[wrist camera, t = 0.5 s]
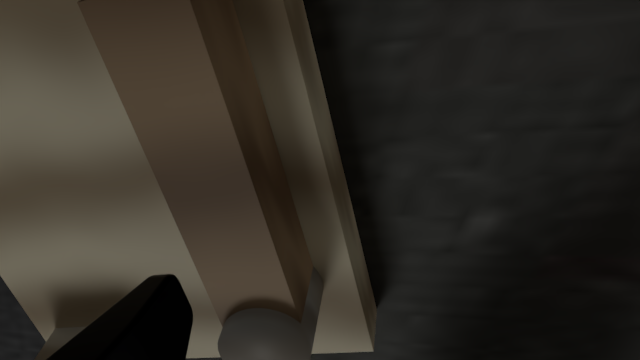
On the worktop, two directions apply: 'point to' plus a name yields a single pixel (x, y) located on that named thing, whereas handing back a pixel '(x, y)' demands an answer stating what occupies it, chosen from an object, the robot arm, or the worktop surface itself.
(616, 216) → the worktop surface
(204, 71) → the brown square bar
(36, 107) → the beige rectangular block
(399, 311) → the worktop surface
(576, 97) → the worktop surface
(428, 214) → the worktop surface
